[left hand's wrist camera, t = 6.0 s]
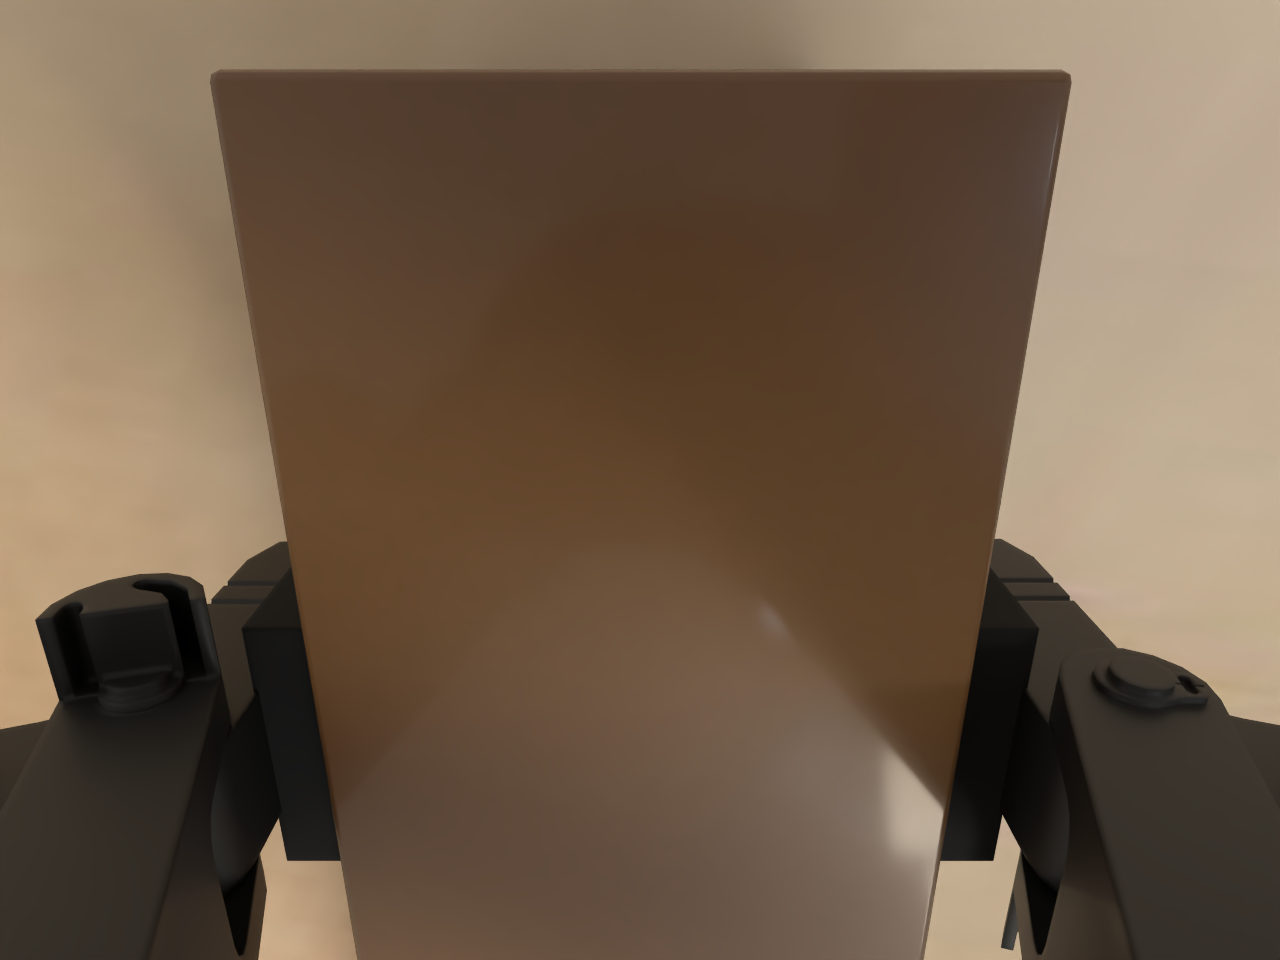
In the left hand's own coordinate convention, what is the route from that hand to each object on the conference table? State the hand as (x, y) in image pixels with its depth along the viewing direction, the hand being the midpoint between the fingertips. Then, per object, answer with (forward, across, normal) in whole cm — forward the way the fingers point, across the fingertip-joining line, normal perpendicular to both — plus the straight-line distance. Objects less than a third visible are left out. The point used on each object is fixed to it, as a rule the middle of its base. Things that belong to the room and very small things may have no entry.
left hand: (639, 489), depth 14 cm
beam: (+1, 0, -28) cm, 28 cm away
